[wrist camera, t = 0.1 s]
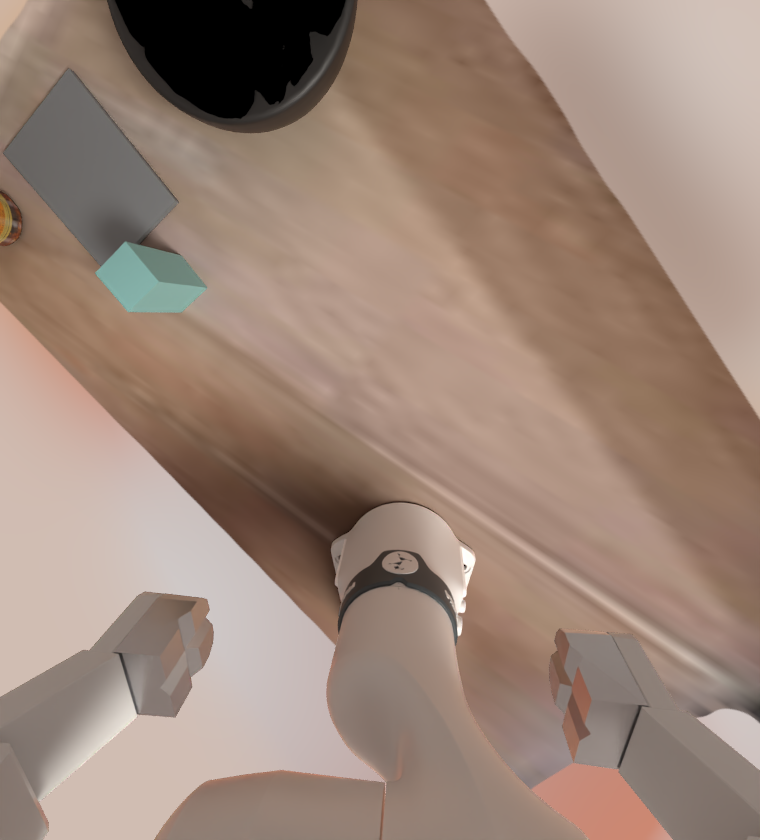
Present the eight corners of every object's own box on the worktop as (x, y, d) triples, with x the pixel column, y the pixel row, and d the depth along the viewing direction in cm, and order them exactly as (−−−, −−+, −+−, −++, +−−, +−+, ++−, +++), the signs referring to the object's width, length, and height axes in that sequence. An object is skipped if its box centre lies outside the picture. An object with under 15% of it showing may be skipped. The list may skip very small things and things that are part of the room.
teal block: (207, 287, 46) (158, 281, 38) (181, 312, 47) (128, 312, 39) (181, 255, 46) (125, 241, 37) (155, 280, 47) (94, 273, 38)
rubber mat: (178, 202, 44) (175, 200, 43) (110, 274, 47) (106, 273, 46) (73, 71, 42) (68, 67, 41) (8, 155, 44) (2, 153, 44)
